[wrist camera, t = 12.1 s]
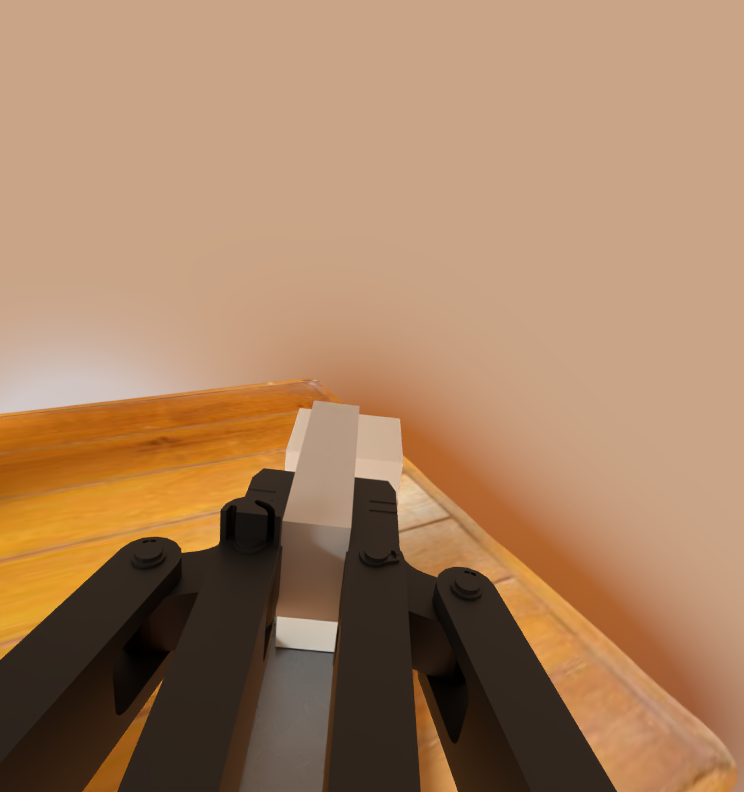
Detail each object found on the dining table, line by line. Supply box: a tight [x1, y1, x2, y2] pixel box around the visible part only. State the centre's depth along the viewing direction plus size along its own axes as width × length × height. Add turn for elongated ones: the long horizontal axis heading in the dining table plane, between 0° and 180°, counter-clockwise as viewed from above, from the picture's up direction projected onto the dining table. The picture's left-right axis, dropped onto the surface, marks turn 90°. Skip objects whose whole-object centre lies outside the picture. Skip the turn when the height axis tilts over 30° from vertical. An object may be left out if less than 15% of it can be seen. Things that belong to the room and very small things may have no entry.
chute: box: [239, 611, 334, 792], centre depth 37 cm, size 24×10×2 cm, turn 179°
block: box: [275, 408, 403, 652], centre depth 39 cm, size 6×7×16 cm
